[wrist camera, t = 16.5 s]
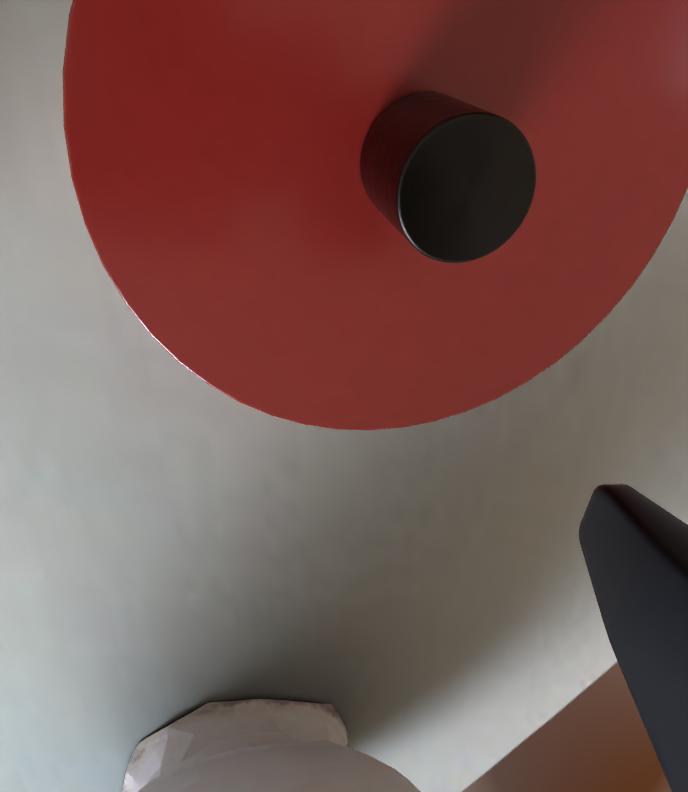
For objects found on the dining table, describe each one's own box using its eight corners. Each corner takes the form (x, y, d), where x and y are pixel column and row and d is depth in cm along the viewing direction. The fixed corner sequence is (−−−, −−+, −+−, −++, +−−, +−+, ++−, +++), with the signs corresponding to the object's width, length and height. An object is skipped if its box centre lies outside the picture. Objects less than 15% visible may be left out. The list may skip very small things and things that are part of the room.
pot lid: (261, 481, 17) (282, 583, 14) (-107, -65, 10) (-218, -84, 7) (699, 271, 17) (811, 331, 14) (653, -454, 9) (868, -643, 7)
